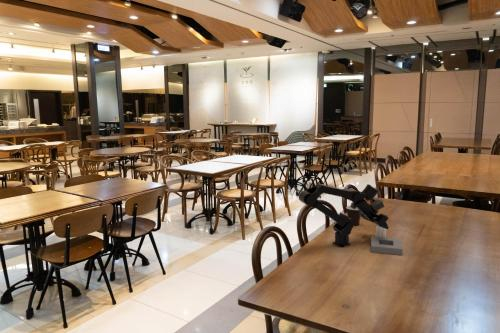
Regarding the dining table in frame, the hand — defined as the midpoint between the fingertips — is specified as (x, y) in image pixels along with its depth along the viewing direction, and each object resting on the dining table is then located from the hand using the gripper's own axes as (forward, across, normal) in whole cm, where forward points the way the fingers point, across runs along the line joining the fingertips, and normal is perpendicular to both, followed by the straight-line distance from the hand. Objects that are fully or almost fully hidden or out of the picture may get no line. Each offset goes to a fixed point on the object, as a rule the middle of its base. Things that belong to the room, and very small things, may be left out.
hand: (382, 225), depth 195 cm
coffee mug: (+5, +27, +5) cm, 28 cm away
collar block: (+1, -12, +9) cm, 15 cm away
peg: (+4, 0, +6) cm, 7 cm away
